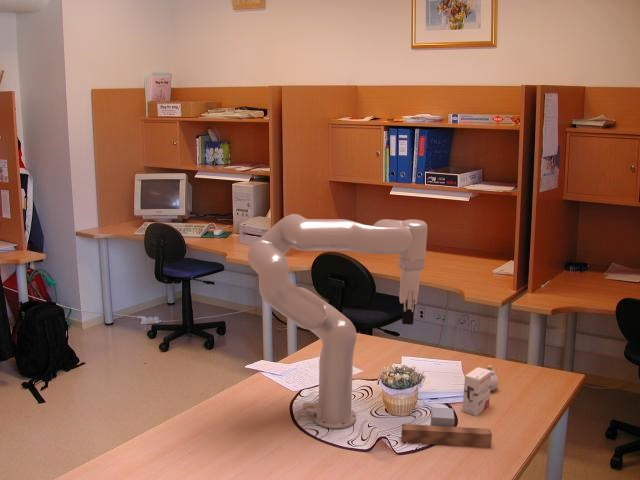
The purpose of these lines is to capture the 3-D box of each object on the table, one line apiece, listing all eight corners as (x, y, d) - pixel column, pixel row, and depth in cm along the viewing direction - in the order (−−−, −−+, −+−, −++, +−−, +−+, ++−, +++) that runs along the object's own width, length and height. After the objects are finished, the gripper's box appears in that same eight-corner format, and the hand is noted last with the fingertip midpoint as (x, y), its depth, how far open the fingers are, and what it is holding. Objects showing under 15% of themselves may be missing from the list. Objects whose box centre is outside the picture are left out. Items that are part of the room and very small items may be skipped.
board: (401, 442, 197) (402, 429, 196) (401, 437, 200) (402, 424, 199) (490, 447, 196) (491, 434, 195) (489, 441, 199) (490, 428, 198)
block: (431, 436, 201) (432, 417, 200) (430, 426, 207) (431, 407, 205) (453, 438, 200) (454, 418, 199) (451, 427, 206) (452, 408, 205)
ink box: (475, 401, 222) (477, 365, 220) (489, 406, 219) (492, 370, 217) (461, 411, 216) (464, 374, 213) (476, 416, 213) (479, 379, 210)
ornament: (490, 384, 234) (493, 355, 232) (504, 394, 228) (506, 364, 225) (474, 387, 232) (476, 358, 230) (487, 397, 225) (490, 367, 223)
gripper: (398, 255, 215) (394, 314, 219) (399, 269, 200) (395, 331, 204) (423, 257, 214) (419, 315, 218) (426, 270, 199) (421, 333, 204)
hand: (407, 323), depth 211 cm, fingers closed
